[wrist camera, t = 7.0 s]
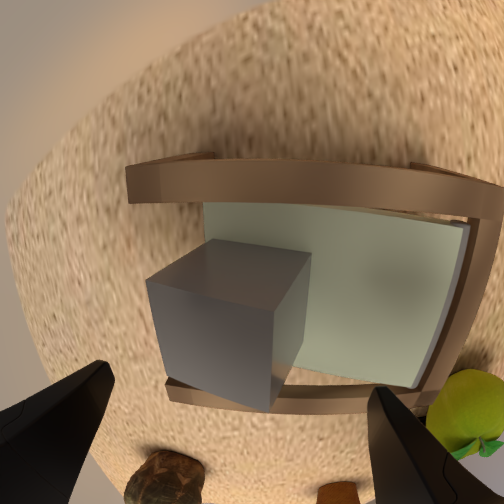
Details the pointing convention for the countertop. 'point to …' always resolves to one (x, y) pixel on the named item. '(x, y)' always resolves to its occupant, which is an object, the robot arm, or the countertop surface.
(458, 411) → the fruit
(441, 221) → the trapdoor
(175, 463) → the shell
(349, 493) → the disposable coffee cup
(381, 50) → the countertop surface
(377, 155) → the countertop surface
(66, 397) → the robot arm
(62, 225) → the countertop surface
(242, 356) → the gray cube
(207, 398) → the frame
